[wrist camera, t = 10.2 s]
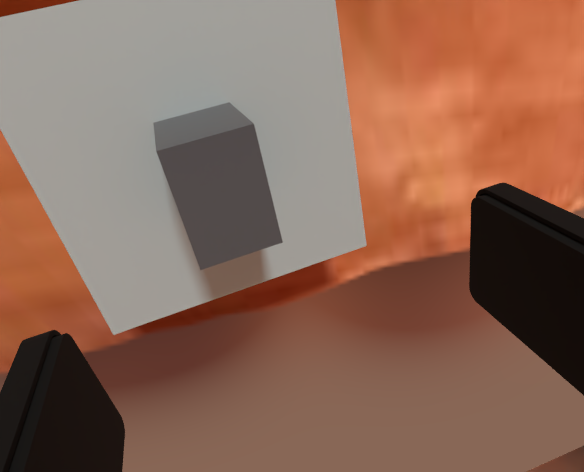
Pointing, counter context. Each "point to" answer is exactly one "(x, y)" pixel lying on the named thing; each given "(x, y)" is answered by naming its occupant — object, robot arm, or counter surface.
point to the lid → (183, 143)
